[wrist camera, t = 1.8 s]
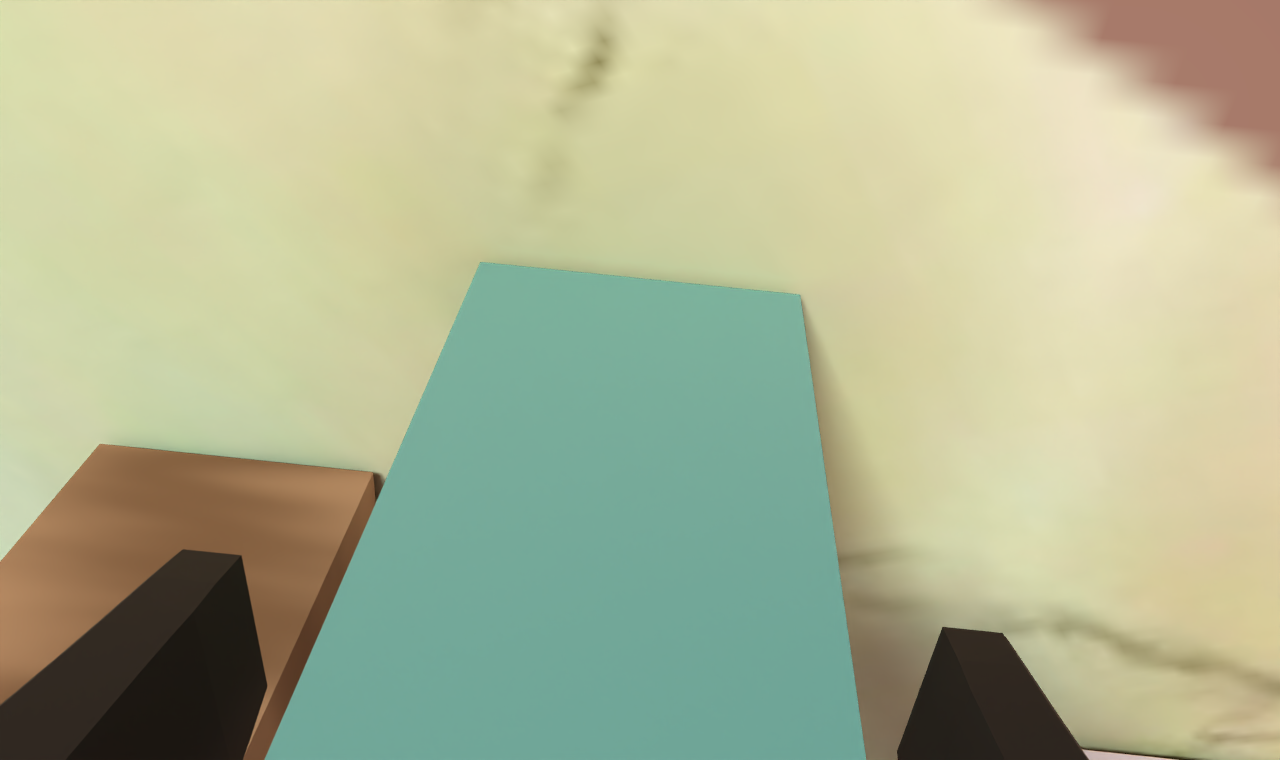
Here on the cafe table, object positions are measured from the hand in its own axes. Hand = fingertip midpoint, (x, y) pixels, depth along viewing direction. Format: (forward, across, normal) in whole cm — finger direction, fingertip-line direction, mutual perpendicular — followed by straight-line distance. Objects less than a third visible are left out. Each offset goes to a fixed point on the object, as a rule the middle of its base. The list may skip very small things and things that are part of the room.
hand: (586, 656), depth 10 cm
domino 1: (+7, 0, 0) cm, 7 cm away
